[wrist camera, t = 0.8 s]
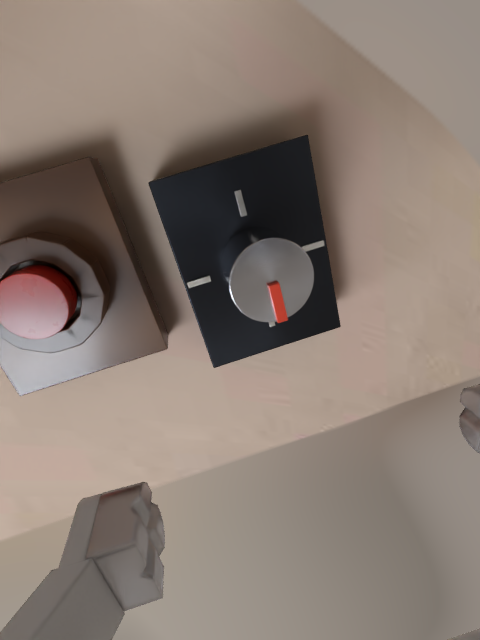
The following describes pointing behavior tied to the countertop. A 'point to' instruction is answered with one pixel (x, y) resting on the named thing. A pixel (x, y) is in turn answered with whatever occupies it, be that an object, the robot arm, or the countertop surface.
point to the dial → (266, 274)
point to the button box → (75, 276)
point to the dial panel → (230, 218)
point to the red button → (36, 302)
